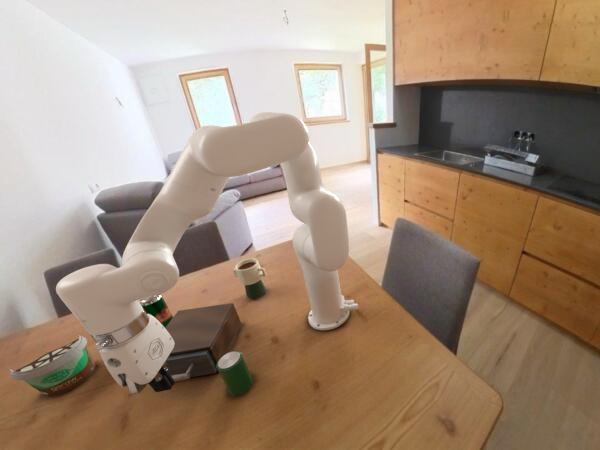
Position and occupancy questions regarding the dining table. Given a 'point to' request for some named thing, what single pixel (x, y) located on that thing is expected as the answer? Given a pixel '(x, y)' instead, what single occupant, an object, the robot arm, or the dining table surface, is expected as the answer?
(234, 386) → the can
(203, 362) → the drawer
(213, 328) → the cabinet
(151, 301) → the soda can
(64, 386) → the food container
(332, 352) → the dining table surface
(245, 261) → the character mug
